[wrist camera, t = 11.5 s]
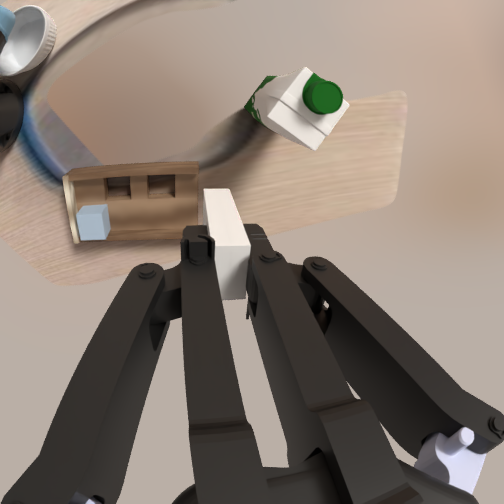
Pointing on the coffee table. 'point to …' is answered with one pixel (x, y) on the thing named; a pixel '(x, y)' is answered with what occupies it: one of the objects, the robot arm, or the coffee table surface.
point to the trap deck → (136, 200)
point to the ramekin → (28, 41)
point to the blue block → (93, 222)
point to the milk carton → (298, 106)
